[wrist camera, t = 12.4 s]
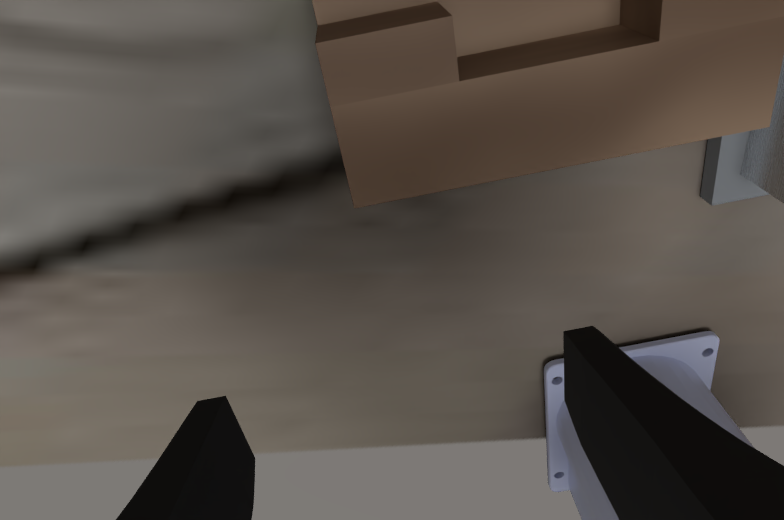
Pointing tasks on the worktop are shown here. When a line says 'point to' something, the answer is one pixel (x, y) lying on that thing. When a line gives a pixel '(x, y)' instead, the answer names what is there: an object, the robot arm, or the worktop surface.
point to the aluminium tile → (768, 150)
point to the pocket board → (535, 83)
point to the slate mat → (727, 171)
